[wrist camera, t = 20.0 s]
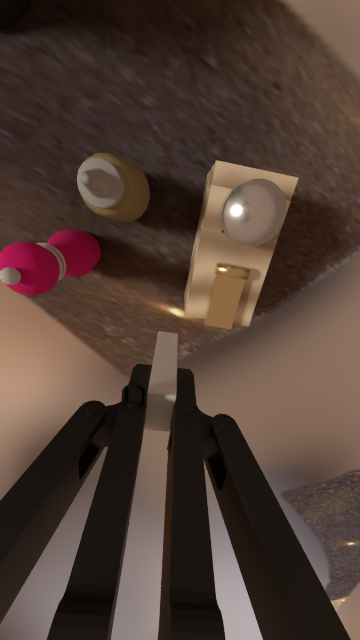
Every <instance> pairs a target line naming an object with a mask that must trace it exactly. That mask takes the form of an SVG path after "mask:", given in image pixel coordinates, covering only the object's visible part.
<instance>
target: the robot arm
mask: <svg viewBox="0 0 360 640" xmlns="http://www.w3.org/2000/svg"><path fill="white" fill-rule="evenodd" d="M28 2H29V0H0V28H1V27H4V26H7V25H8V24H10V23H12V22H13V21H15V20H16V19H17V18H18V17H19V16H20V15H21V14H22V12H23V11H24V9H25V8H26V6H27V4H28ZM177 338H178V334H176V333H168V332H161V331H158V336H157V342H156V347H155V353H154V359H153V364H152V365H145V364H137V365H136V366H135V367H134V368H133V371H132V375H131V378H130V382H129V384H128V385H127V386H126V387H124V389H123V390H122V401H121V402H120V403H117V404H115V405H110V406H105V405H104V404H103V403H101V402H100V401H88V402H86V403H84V404H83V405H82V406H80V408H79V409H78V410H77V411H76V412H75V413H74V415H73V416H72V417H71V418H70V419H69V420H68V422H67V423H66V424H65V425H64V426H63V427H62V429H61V430H60V431H59V432H58V433H57V435H56V436H55V437H54V438H53V439H52V440H51V442H50V443H49V444H48V445H47V446H46V448H45V449H44V450H43V451H42V452H41V453H40V455H39V456H38V457H37V458H36V459H35V460H34V462H33V463H32V464H31V465H30V466H29V468H28V469H27V470H26V471H25V472H24V473H23V475H22V476H21V477H20V478H19V479H18V480H17V482H16V483H15V484H14V485H13V486H12V488H11V489H10V490H9V491H8V492H7V494H6V495H5V496H4V497H3V498H2V500H1V501H0V623H1V622H2V620H3V618H4V617H5V615H6V613H7V612H8V610H9V608H10V607H11V605H12V603H13V602H14V600H15V598H16V596H17V595H18V593H19V591H20V590H21V588H22V586H23V585H24V583H25V581H26V579H27V578H28V576H29V574H30V573H31V571H32V569H33V568H34V566H35V564H36V563H37V561H38V559H39V558H40V556H41V554H42V552H43V551H44V549H45V547H46V546H47V544H48V542H49V541H50V539H51V537H52V536H53V534H54V532H55V531H56V529H57V527H58V525H59V524H60V522H61V520H62V519H63V517H64V515H65V514H66V512H67V510H68V509H69V507H70V505H71V503H72V502H73V500H74V498H75V497H76V495H77V493H78V492H79V490H80V488H81V487H82V485H83V483H84V481H85V480H86V478H87V476H88V475H89V473H90V471H91V469H92V468H93V466H94V464H95V463H96V461H97V459H98V458H99V456H100V454H101V453H102V451H103V449H104V447H107V446H108V450H107V453H106V457H105V460H104V463H103V467H102V470H101V473H100V477H99V480H98V484H97V487H96V490H95V494H94V498H93V500H92V504H91V508H90V511H89V514H88V517H87V521H86V524H85V528H84V531H83V534H82V538H81V541H80V544H79V548H78V551H77V555H76V558H75V561H74V565H73V568H72V571H71V575H70V578H69V581H68V585H67V588H66V591H65V593H64V596H63V598H62V600H61V601H60V603H59V605H58V608H57V610H56V613H55V615H54V619H53V622H52V625H51V628H50V631H49V634H48V637H47V640H111V634H112V627H113V620H114V613H115V608H116V601H117V595H118V589H119V583H120V576H121V570H122V564H123V557H124V550H125V545H126V538H127V532H128V526H129V520H130V514H131V507H132V500H133V495H134V489H135V482H136V476H137V470H138V464H139V456H140V451H141V445H142V438H143V430H144V429H150V430H159V431H170V436H169V441H168V447H167V450H168V464H167V484H166V502H165V503H166V504H165V521H164V541H163V560H162V579H161V600H160V618H159V632H158V640H225V632H224V625H223V619H222V615H221V611H220V609H219V607H218V604H217V600H216V593H215V583H214V571H213V560H212V549H211V538H210V527H209V516H208V506H207V494H206V483H205V471H204V462H205V465H206V467H207V470H208V474H209V477H210V480H211V483H212V486H213V489H214V492H215V495H216V498H217V501H218V504H219V507H220V510H221V513H222V516H223V519H224V522H225V525H226V529H227V531H228V535H229V537H230V541H231V544H232V547H233V550H234V553H235V556H236V559H237V562H238V565H239V568H240V571H241V574H242V577H243V580H244V583H245V586H246V589H247V592H248V595H249V598H250V601H251V604H252V607H253V610H254V614H255V616H256V620H257V623H258V626H259V629H260V632H261V635H262V638H263V640H351V639H350V638H349V636H348V634H347V632H346V630H345V628H344V626H343V624H342V622H341V621H340V618H339V617H338V615H337V613H336V611H335V609H334V607H333V605H332V603H331V601H330V600H329V598H328V596H327V594H326V592H325V590H324V588H323V586H322V584H321V582H320V581H319V579H318V577H317V575H316V573H315V571H314V570H313V567H312V566H311V564H310V562H309V560H308V558H307V556H306V554H305V552H304V550H303V548H302V546H301V545H300V543H299V541H298V539H297V537H296V535H295V534H294V531H293V529H292V527H291V526H290V524H289V522H288V520H287V518H286V516H285V514H284V512H283V511H282V508H281V507H280V505H279V503H278V501H277V499H276V497H275V495H274V493H273V491H272V489H271V488H270V486H269V484H268V482H267V480H266V478H265V476H264V474H263V472H262V471H261V469H260V467H259V465H258V463H257V461H256V459H255V457H254V455H253V453H252V452H251V450H250V448H249V446H248V444H247V442H246V440H245V438H244V436H243V435H242V433H241V431H240V429H239V427H238V425H237V423H236V422H235V420H234V419H233V418H231V417H230V416H228V415H226V414H218V415H216V416H214V417H211V416H208V415H206V414H204V413H203V412H201V411H200V410H199V409H198V407H197V405H196V396H195V384H194V374H193V373H192V371H191V370H190V369H182V368H177ZM203 459H204V460H203ZM203 461H204V462H203Z"/></svg>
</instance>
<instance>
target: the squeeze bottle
mask: <svg viewBox="0 0 360 640" xmlns="http://www.w3.org/2000/svg"><path fill="white" fill-rule="evenodd" d="M77 183H78V189H79V191H80V194H81V196H82V198H83V200H84V202H85V203H86V205H87V206H88V207H89V208H90V209H91V210H93V211H94V212H95V213H97V214H99V215H102V216H104V217H107V218H110V219H113V220H116V221H118V222H132V221H134V220H136V219H138V218H140V217H141V216H142V215H143V213H144V212H145V211H146V210H147V207H148V204H149V200H150V188H149V184H148V182H147V179H146V177H145V175H144V173H143V172H142V171H141V170H140V169H139V168H138V167H137V166H136V165H134V164H132V163H130V162H128V161H125V160H123V159H121V158H119V157H116V156H114V155H112V154H109V153H96V154H94V155H92V156H91V157H89V158H87V159H86V160H85V161H84V162H83V164H82V165H81V167H80V168H79V170H78V176H77Z"/></svg>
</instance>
